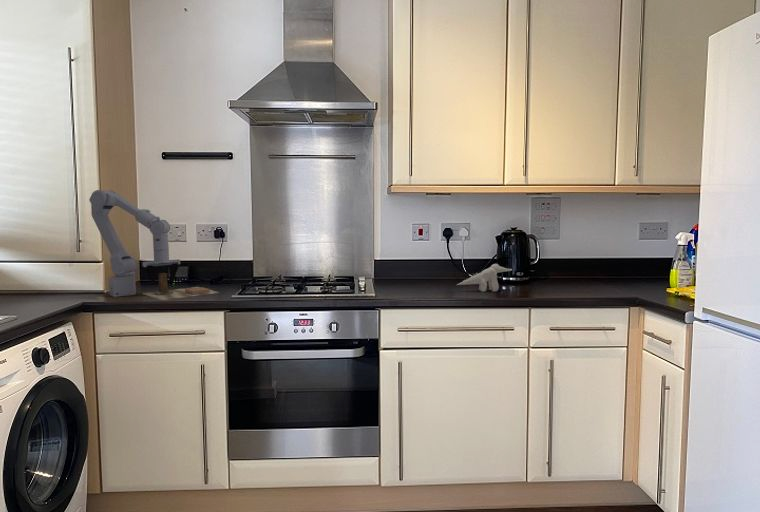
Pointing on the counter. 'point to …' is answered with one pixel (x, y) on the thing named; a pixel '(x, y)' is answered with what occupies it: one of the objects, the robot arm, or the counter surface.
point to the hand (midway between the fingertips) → (162, 283)
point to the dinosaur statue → (486, 278)
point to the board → (176, 294)
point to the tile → (197, 291)
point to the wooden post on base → (163, 285)
